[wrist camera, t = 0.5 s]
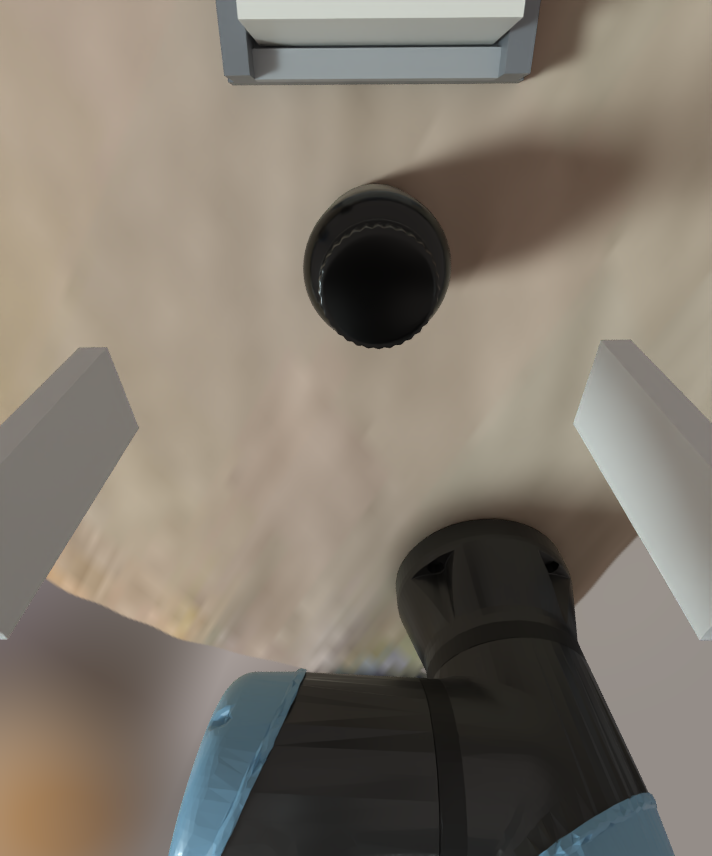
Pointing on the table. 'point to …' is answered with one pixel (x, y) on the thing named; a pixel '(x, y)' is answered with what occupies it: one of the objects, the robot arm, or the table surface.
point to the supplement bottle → (377, 266)
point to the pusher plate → (378, 21)
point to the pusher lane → (375, 58)
